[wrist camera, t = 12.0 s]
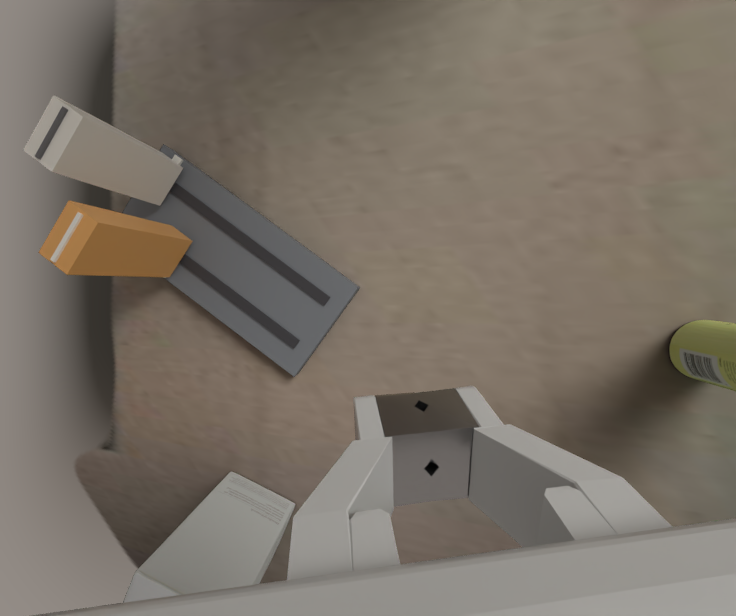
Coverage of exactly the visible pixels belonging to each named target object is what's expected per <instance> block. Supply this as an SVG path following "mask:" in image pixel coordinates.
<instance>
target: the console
mask: <svg viewBox="0 0 736 616" xmlns="http://www.w3.org/2000/svg"><path fill="white" fill-rule="evenodd" d="M160 152H162V153H164V154H165V155H166V156H168V157H169V158H170V159H172V160H173V161H174V162H176V163H177V164H178V165H180V166H181V167H183V169H182V171H181V173H180V174H179V176H178V178H177V179H176V181H175V182H174V184H173V186H172V187H171V189H170V191H169V192H168V194H167V195H166V197H165V199H164V200H163V202H162V204H161V205H160V206H159V205H156V204H153V203H149V202H146V201H143V200H140V199H137V198H133V197H131V199H130V201H129V202H128V204H127V205H126V207H125V209H124V210H123V212H122V213H123V214H127V215H131V216H135V217H139V218H143V219H147V220H151V221H155V222H159V223H163V224H168V225H172V226H173V227H175V228H176V229H177V230H179V231H180V232H181V233H183V234H184V235H185V236H187V237H188V238H189V239H191V240H192V243H191V245H190V246H189V248H188V249H187V251H186V252H185V254H184V256H183V257H182V259H181V260H180V262H179V263H178V265H177V267H176V268H175V270H174V271H173V273H172V274H171V276H170V277H163V278H165V279H166V280H167V281H169V282H170V283H171V284H173V285H174V286H175V287H177V288H178V289H179V290H181V291H182V292H183V293H184V294H186V295H187V296H188V297H190V298H191V299H192V300H194V301H195V302H196V303H198V304H199V305H200V306H202V307H203V308H204V309H206V310H207V311H208V312H209V313H211V314H212V315H213V316H215V317H216V318H217V319H219V320H220V321H221V322H223V323H224V324H225V325H227V326H228V327H229V328H231V329H232V330H233V331H234V332H236V333H237V334H238V335H240V336H241V337H242V338H244V339H245V340H246V341H248V342H249V343H250V344H252V345H253V346H254V347H256V348H257V349H258V350H259V351H261V352H262V353H263V354H265V355H266V356H267V357H269V358H270V359H271V360H273V361H274V362H275V363H277V364H278V365H279V366H281V367H282V368H283V369H284V370H286V371H287V372H288V373H290V374H291V375H292V376H294V377H295V376H296V375H297V374H298V373H299V372H300V371H301V369H302V368H303V366H304V365H305V364H306V362H307V361H308V360H309V358H310V357H311V355H312V354H313V353H314V351H315V350H316V348H317V347H318V346H319V344H320V343H321V341H322V340H323V339H324V337H325V336H326V335H327V333H328V332H329V330H330V329H331V328H332V326H333V325H334V323H335V322H336V321H337V319H338V318H339V316H340V315H341V314H342V312H343V311H344V309H345V308H346V307H347V305H348V304H349V303H350V301H351V300H352V298H353V297H354V296H355V294H356V293H357V291H358V290H359V289H360V287H359V286H357V285H356V284H355V283H353V282H352V281H351V280H349V279H348V278H347V277H345V276H344V275H342V274H341V273H340V272H338V271H337V270H336V269H334V268H333V267H332V266H330V265H329V264H328V263H326V262H325V261H323V260H322V259H321V258H319V257H318V256H317V255H315V254H314V253H313V252H311V251H310V250H308V249H307V248H306V247H304V246H303V245H302V244H300V243H299V242H298V241H296V240H295V239H294V238H292V237H291V236H289V235H288V234H287V233H285V232H284V231H283V230H281V229H280V228H279V227H277V226H276V225H274V224H273V223H272V222H270V221H269V220H268V219H266V218H265V217H264V216H262V215H261V214H260V213H258V212H257V211H255V210H254V209H253V208H251V207H250V206H249V205H247V204H246V203H245V202H243V201H242V200H240V199H239V198H238V197H236V196H235V195H234V194H232V193H231V192H230V191H228V190H227V189H225V188H224V187H223V186H221V185H220V184H219V183H217V182H216V181H215V180H213V179H212V178H211V177H209V176H208V175H206V174H205V173H204V172H202V171H201V170H200V169H198V168H197V167H196V166H194V165H193V164H191V163H190V162H189V161H187V160H186V159H185V158H183V157H182V156H181V155H179V154H178V153H177V152H175V151H174V150H172V149H171V148H169V147H167V146H166V145H164V144H163V146H162V148H161V149H160Z"/></svg>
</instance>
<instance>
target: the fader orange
mask: <svg viewBox="0 0 736 616" xmlns="http://www.w3.org/2000/svg"><path fill="white" fill-rule="evenodd" d="M191 243H192V240H191V239H189V238H188V237H187V236H185V235H184V234H183V233H181V232H180V231H179V230H177V229H176V228H175V227H173V226H172V225H168V224H163V223H159V222H155V221H151V220H147V219H143V218H139V217H135V216H131V215H127V214H123V213H119V212H115V211H110V210H106V209H102V208H98V207H94V206H90V205H86V204H82V203H77V202H74V201H68V203H67V204H66V206H65V208H64V210H63V211H62V213H61V215H60V216H59V218H58V220H57V222H56V223H55V225H54V227H53V228H52V230H51V232H50V234H49V235H48V237H47V239H46V241H45V242H44V244H43V246H42V248H41V249H40V251H39V253H40V254H41V255H42V256H43V257H45V258H46V259H47V260H49V261H50V262H51V263H53V264H54V265H55V266H56V267H58V268H59V269H60V270H62V271H63V272H64V273H65V274H67V275H99V276H135V277H170V276H171V274H172V273H173V271H174V270H175V268H176V267H177V265H178V263H179V262H180V260H181V259H182V257H183V256H184V254H185V252H186V251H187V249H188V248H189V246H190V245H191Z"/></svg>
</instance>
